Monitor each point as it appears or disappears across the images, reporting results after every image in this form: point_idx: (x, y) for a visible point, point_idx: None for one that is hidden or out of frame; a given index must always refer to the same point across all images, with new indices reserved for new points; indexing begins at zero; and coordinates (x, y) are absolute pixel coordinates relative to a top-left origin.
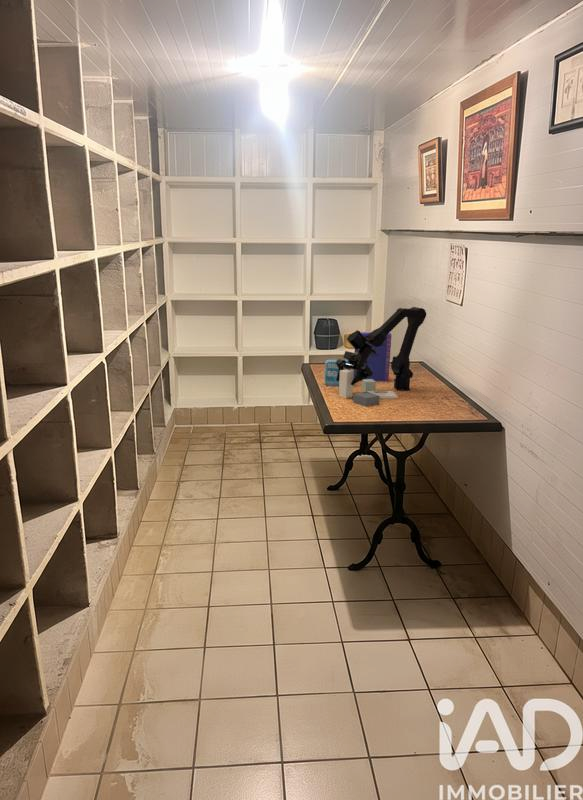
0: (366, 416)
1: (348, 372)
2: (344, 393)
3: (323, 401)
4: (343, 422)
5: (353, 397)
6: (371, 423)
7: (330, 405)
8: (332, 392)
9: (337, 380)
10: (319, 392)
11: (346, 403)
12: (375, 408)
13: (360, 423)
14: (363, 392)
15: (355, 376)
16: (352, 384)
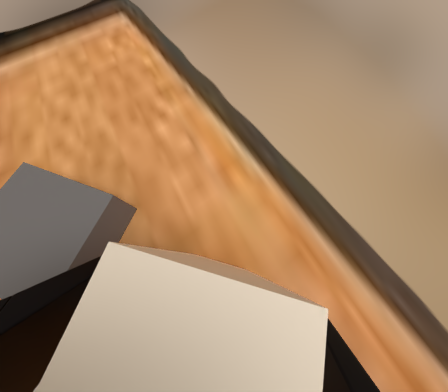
0: (42, 82)
1: (92, 290)
2: (203, 257)
3: (253, 148)
4: (97, 19)
5: (122, 201)
6: (19, 42)
7: (200, 119)
8: None
9: None
10: (378, 282)
11: (157, 176)
12: None
13: (50, 31)
14: None
15: (7, 317)
16: None
